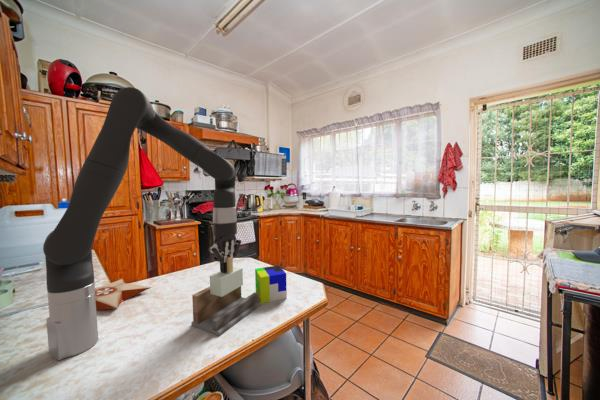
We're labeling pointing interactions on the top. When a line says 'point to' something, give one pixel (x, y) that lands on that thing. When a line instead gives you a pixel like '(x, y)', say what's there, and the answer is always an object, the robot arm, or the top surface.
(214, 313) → the board
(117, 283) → the decorative star
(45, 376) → the top surface
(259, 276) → the puzzle toy
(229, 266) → the wide pale green cuboid
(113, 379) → the top surface
